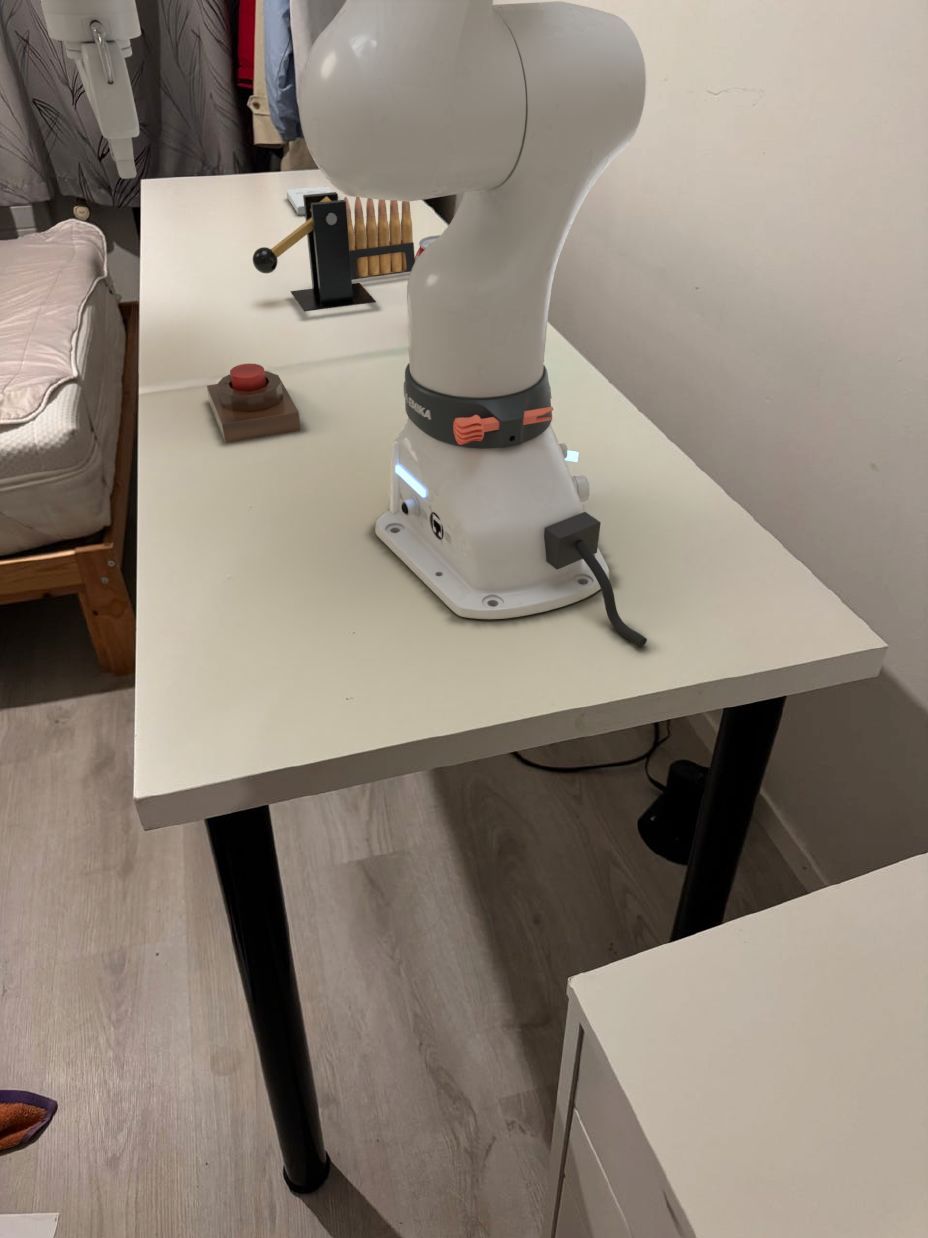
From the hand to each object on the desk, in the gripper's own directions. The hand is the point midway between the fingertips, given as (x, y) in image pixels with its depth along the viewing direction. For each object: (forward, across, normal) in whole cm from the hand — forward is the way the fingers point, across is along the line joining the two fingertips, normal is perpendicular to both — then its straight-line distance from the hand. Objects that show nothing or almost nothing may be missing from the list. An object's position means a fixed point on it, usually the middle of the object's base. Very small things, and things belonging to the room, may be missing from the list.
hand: (124, 168), depth 98 cm
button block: (+21, -21, -7) cm, 30 cm away
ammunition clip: (+21, +16, -33) cm, 42 cm away
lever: (+13, +9, -20) cm, 26 cm away
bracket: (+21, +9, -24) cm, 33 cm away
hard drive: (+21, +59, -34) cm, 71 cm away
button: (+17, -21, -7) cm, 28 cm away
